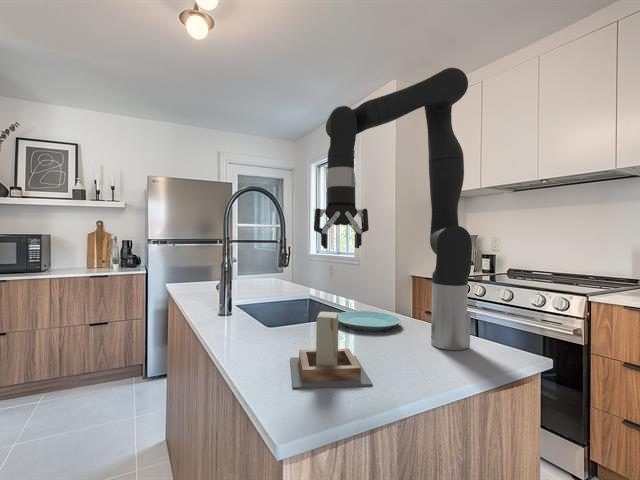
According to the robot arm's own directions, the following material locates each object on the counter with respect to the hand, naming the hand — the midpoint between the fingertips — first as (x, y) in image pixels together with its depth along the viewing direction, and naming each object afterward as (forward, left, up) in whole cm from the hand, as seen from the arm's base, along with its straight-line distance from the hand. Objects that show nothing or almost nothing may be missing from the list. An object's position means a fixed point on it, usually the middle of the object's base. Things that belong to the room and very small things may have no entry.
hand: (341, 248), depth 89 cm
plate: (-14, -24, -27) cm, 39 cm away
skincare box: (+5, +14, -27) cm, 31 cm away
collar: (+5, +14, -27) cm, 31 cm away
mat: (+5, +14, -27) cm, 31 cm away
